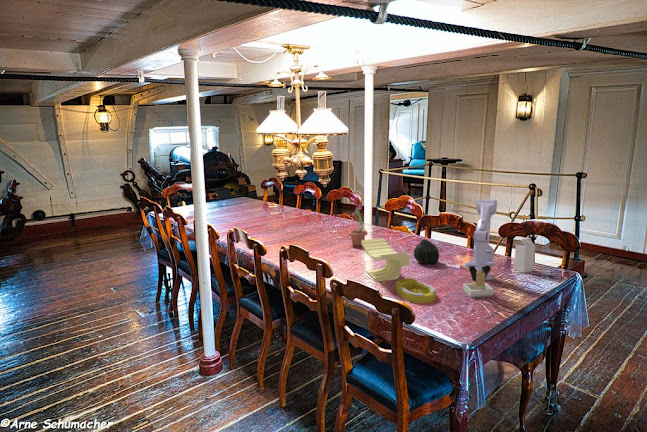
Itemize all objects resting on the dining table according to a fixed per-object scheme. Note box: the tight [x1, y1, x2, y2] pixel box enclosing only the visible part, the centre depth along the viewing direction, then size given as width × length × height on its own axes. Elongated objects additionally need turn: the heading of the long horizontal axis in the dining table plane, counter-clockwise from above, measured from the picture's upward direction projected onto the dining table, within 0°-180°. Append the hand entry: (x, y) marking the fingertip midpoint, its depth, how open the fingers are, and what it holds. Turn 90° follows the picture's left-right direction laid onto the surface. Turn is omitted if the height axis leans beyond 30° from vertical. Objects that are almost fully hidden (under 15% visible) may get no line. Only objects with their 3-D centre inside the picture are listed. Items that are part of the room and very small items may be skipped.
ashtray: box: [395, 278, 437, 304], centre depth 207 cm, size 16×21×5 cm
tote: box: [462, 282, 495, 298], centre depth 207 cm, size 10×12×4 cm
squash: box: [413, 238, 440, 265], centre depth 255 cm, size 14×15×15 cm
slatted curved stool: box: [360, 238, 410, 282], centre depth 232 cm, size 30×16×18 cm, turn 15°
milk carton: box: [513, 237, 536, 274], centre depth 236 cm, size 7×7×19 cm
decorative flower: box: [347, 203, 369, 247], centre depth 295 cm, size 15×14×30 cm
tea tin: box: [471, 270, 486, 287], centre depth 206 cm, size 4×4×7 cm
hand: (478, 280), depth 206 cm, fingers closed on tea tin, 4 cm apart
